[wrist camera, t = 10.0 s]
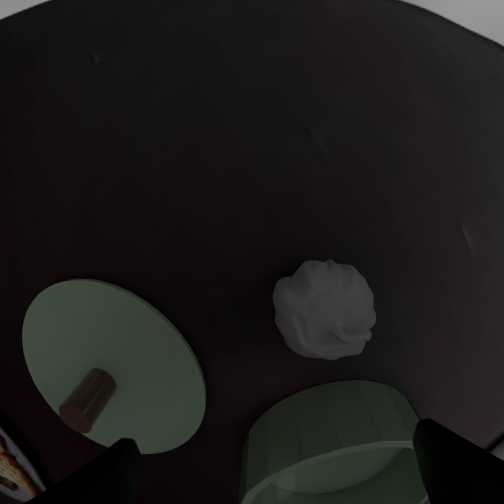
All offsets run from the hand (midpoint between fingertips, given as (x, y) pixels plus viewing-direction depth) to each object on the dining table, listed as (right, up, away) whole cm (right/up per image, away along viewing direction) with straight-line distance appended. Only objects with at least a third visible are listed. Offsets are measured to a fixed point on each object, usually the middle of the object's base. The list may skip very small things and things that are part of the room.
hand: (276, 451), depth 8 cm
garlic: (+3, +3, +11) cm, 12 cm away
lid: (-11, -3, +12) cm, 17 cm away
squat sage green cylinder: (+6, -10, +13) cm, 17 cm away
